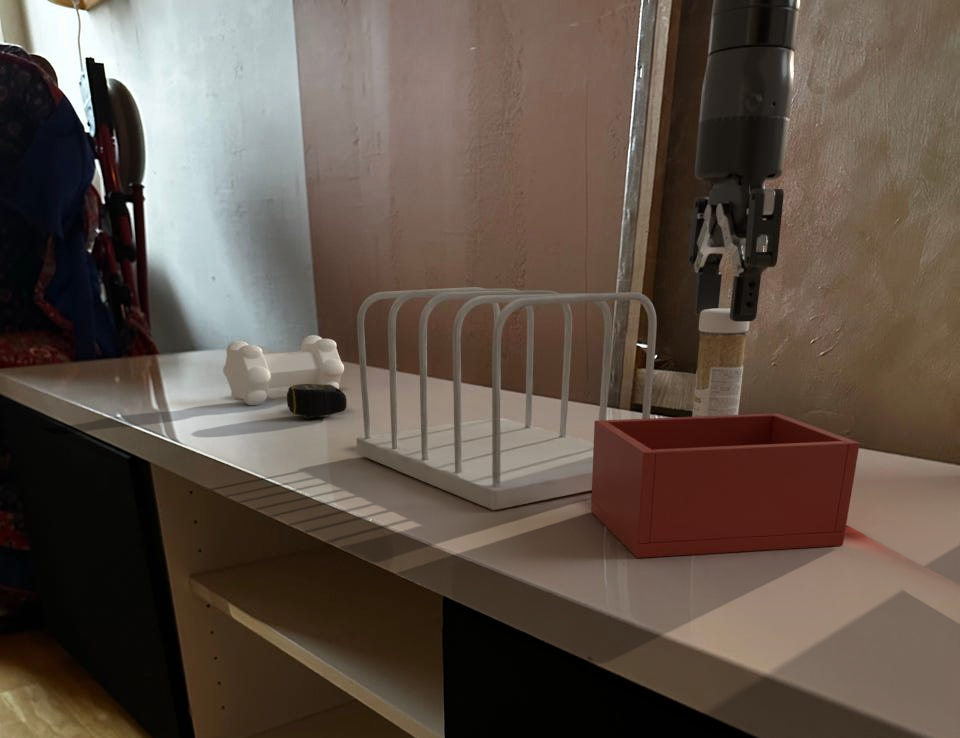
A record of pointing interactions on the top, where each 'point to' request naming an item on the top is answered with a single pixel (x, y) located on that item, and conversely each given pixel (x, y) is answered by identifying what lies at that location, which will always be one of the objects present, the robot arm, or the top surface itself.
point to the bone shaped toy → (280, 368)
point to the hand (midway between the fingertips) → (723, 318)
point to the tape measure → (315, 400)
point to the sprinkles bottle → (719, 364)
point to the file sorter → (493, 409)
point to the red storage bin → (721, 483)
